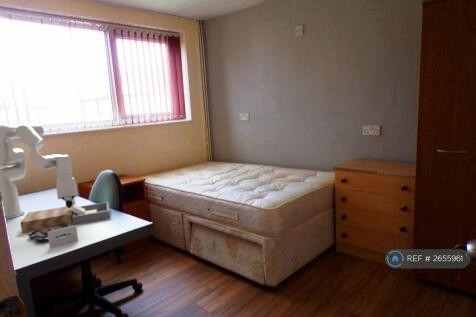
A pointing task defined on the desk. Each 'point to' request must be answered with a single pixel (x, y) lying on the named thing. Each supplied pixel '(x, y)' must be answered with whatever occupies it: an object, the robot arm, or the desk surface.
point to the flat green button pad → (43, 235)
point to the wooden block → (46, 219)
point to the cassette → (62, 240)
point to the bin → (101, 213)
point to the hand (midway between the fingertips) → (69, 207)
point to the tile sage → (90, 211)
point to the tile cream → (78, 209)
